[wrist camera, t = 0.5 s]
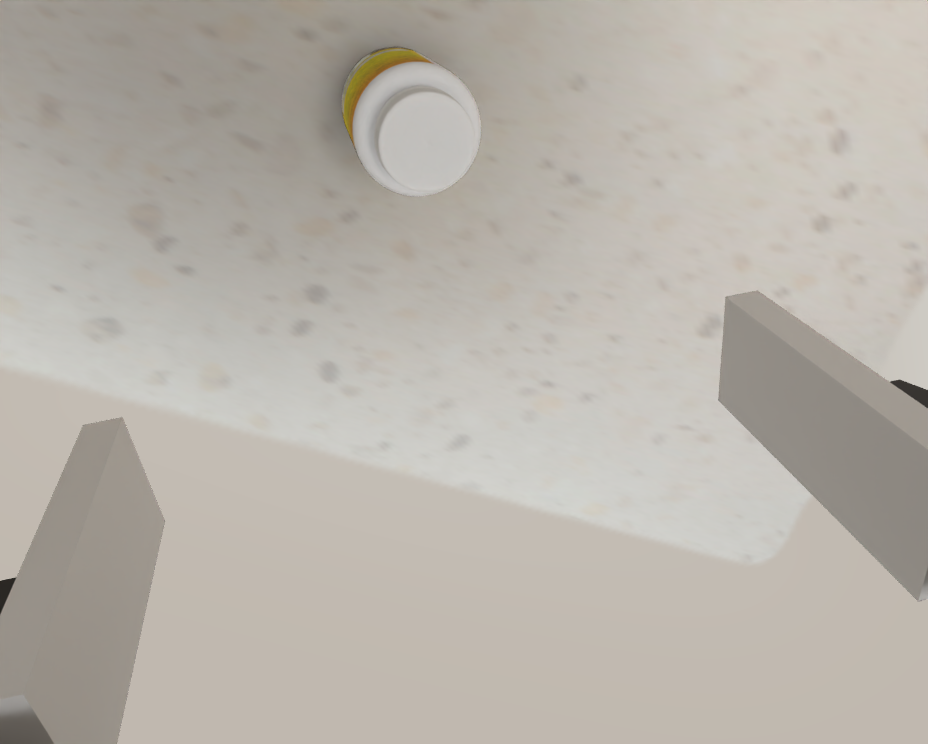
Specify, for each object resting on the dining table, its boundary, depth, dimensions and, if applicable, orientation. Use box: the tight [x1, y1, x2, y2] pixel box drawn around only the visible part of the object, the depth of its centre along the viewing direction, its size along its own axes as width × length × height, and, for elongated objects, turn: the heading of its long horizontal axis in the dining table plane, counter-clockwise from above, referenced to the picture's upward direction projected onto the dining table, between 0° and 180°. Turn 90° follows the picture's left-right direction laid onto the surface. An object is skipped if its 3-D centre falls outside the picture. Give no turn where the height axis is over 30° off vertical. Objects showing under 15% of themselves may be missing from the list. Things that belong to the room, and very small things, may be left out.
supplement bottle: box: [342, 47, 481, 196], centre depth 34 cm, size 6×6×10 cm
